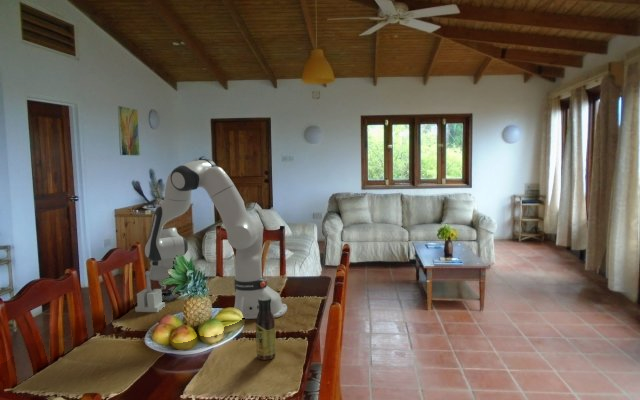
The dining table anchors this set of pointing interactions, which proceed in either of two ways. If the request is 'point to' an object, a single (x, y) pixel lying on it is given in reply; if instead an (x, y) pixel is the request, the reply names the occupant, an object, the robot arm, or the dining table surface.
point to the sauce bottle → (265, 330)
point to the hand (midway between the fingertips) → (172, 288)
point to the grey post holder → (149, 298)
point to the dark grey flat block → (168, 295)
